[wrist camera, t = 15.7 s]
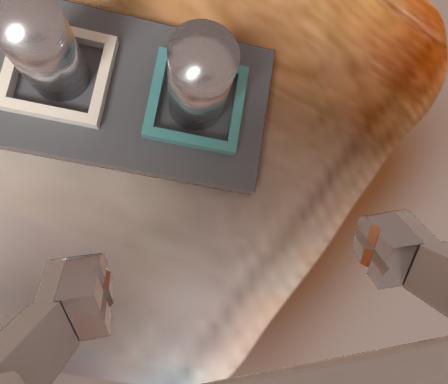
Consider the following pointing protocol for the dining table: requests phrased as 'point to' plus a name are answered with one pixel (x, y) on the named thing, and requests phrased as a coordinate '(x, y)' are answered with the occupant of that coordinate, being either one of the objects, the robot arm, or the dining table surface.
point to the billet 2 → (200, 72)
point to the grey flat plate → (138, 109)
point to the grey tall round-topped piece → (43, 48)
